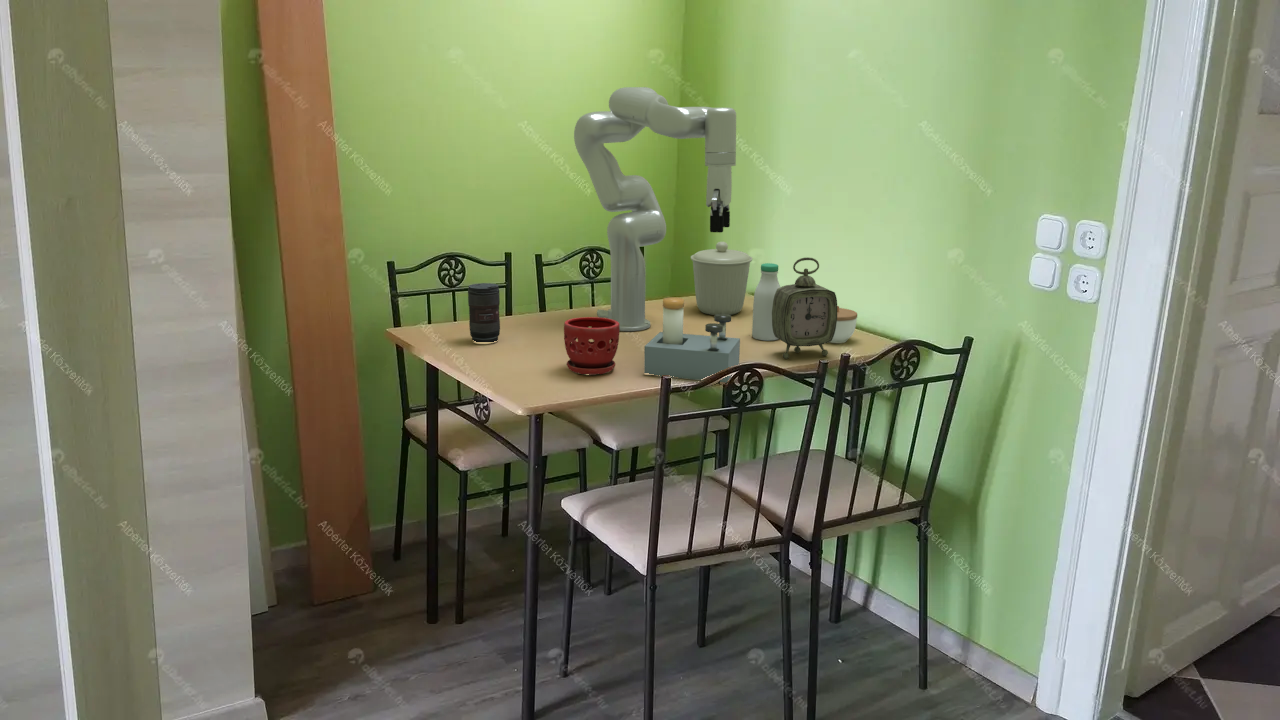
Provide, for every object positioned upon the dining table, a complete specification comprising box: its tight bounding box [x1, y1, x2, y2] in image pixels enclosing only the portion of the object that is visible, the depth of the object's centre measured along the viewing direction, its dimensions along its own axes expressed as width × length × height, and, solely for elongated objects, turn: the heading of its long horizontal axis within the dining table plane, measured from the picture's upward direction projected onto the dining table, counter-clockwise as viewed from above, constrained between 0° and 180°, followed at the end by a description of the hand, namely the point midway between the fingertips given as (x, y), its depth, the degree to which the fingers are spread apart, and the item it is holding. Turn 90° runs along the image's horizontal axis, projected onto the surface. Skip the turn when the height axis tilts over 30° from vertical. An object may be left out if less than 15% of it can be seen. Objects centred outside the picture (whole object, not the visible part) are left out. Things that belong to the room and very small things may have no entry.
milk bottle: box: [751, 262, 781, 342], centre depth 267 cm, size 8×8×20 cm
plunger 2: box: [714, 314, 732, 341], centre depth 240 cm, size 4×4×7 cm
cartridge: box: [662, 296, 685, 345], centre depth 238 cm, size 5×5×14 cm
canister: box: [690, 241, 753, 316], centre depth 294 cm, size 18×18×21 cm
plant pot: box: [563, 316, 620, 376], centre depth 237 cm, size 13×13×12 cm
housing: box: [643, 331, 741, 384], centre depth 238 cm, size 20×14×7 cm
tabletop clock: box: [772, 256, 838, 360], centre depth 250 cm, size 14×9×25 cm, turn 106°
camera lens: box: [467, 282, 501, 342], centre depth 261 cm, size 8×8×15 cm
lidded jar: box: [828, 305, 858, 344], centre depth 266 cm, size 11×11×9 cm
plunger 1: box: [704, 322, 723, 351], centre depth 231 cm, size 4×4×7 cm
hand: (720, 229), depth 249 cm, fingers open, 9 cm apart
